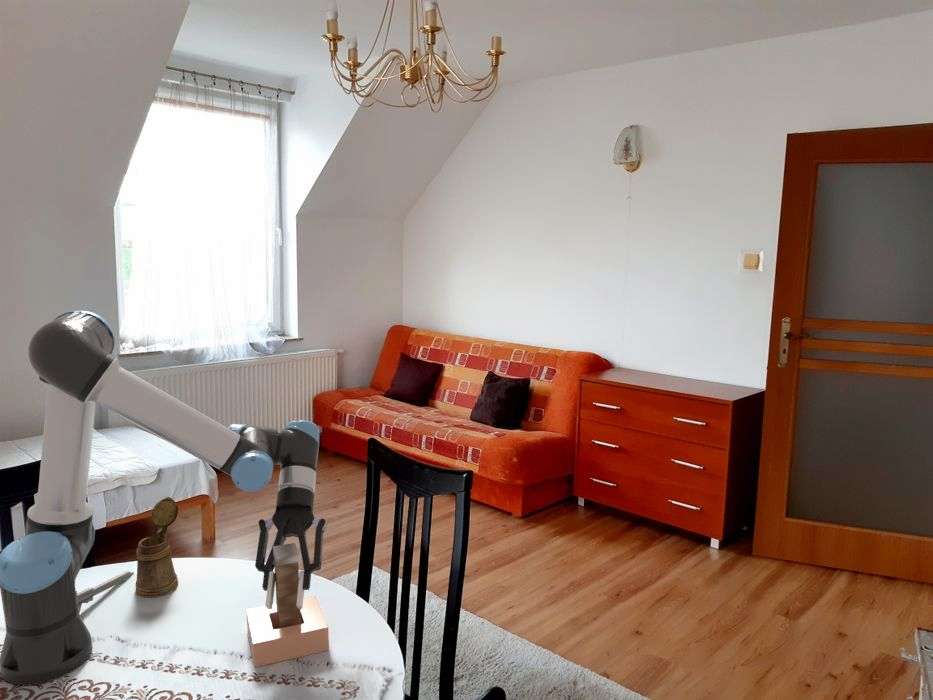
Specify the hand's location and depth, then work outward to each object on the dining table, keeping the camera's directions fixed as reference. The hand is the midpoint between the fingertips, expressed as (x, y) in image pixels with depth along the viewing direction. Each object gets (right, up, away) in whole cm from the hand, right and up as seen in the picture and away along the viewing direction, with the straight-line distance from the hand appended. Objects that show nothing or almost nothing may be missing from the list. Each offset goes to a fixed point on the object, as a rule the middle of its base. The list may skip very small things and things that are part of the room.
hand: (284, 607), depth 136 cm
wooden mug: (-35, -4, +27) cm, 44 cm away
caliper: (-45, -5, +20) cm, 50 cm away
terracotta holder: (-1, -9, +6) cm, 10 cm away
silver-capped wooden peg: (0, -5, +5) cm, 7 cm away
